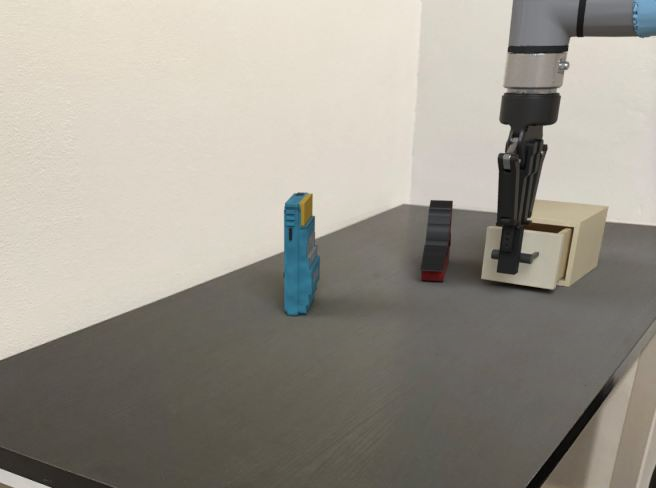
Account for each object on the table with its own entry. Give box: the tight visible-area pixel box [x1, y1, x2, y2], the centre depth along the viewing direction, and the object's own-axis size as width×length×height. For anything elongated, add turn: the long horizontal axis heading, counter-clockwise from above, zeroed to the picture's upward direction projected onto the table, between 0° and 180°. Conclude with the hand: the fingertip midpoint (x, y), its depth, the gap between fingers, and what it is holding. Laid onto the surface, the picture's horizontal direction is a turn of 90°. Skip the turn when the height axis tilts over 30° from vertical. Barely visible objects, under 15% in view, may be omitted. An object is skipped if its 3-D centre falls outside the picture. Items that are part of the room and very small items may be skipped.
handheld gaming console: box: [283, 191, 321, 317], centre depth 112 cm, size 10×4×15 cm, turn 169°
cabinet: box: [527, 198, 609, 288], centre depth 128 cm, size 15×13×10 cm
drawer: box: [480, 223, 574, 290], centre depth 122 cm, size 18×11×8 cm, turn 144°
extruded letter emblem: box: [420, 199, 454, 282], centre depth 128 cm, size 18×4×11 cm, turn 165°
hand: (507, 272), depth 116 cm, fingers closed
